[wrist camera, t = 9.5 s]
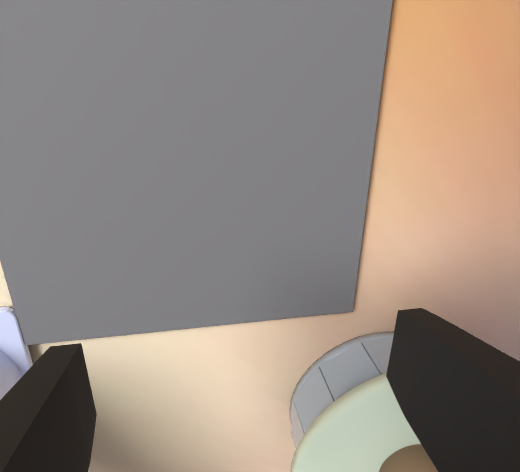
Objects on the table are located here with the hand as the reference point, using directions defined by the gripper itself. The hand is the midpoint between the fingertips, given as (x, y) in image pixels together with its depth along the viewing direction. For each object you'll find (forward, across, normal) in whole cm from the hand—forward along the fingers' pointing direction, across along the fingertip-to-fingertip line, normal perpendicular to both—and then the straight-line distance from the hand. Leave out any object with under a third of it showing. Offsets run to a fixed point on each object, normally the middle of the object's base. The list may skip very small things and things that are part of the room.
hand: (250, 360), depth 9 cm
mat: (+10, +1, -2) cm, 10 cm away
